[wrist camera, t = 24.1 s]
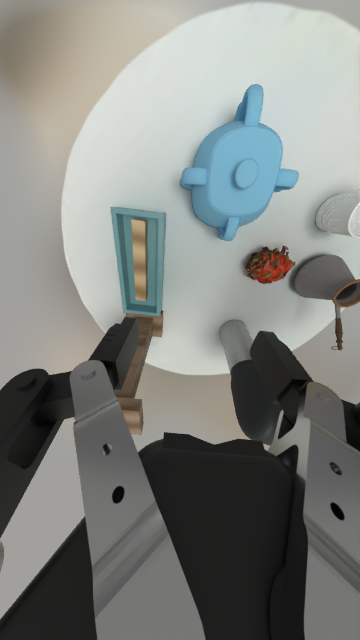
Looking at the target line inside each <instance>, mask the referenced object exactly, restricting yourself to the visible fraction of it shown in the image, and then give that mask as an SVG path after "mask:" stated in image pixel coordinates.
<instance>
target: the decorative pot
mask: <svg viewBox="0 0 360 640" xmlns="http://www.w3.org/2000/svg"><path fill="white" fill-rule="evenodd" d="M262 105H263V88H262V86H261V85H258V84H254V85H251V86H250V87H249V88H248V89H247V90H246V92H245V95H244V97H243V100H242V102H241V103H240V104H239V106H238V108H237V112H236V117H235V122H231V123H228V124H225V125H223V126H221V127H219V128H217V129H215V130H214V131H212V132H211V133H210V134H209V135H208V136H207V137H206V138H205V139H204V140H203V142H202V143H201V145H200V147H199V149H198V151H197V154H196V157H195V162H194V167H193V168H185V169H184V170H183V173H182V177H181V180H180V184H181V187H183V188H186V189H191V191H192V204H193V209H194V212H195V214H196V215H197V217H198V218H199V219H200V220H201V221H203V222H204V223H206V224H208V225H210V226H213V227H217V228H219V232H218V238H219V239H221V240H225V241H230V240H232V239H233V238H234V237H235V235H236V232H237V229H238V227H239V226H242V225H245V224H248V223H250V222H252V221H253V220H255V219H257V218H258V217H259V216H260V215H261V214H262V213H263V212H264V210H265V209H266V207H267V206H268V204H269V201H270V199H271V197H272V194H273V192H279V191H281V190H287V189H291V188H293V187H294V186H295V184H296V182H297V180H298V176H299V173H298V171H295V170H290V169H280V166H281V160H282V153H283V149H282V142H281V140H280V137H279V136H278V134H277V133H276V132H275V131H274V130H272V129H271V128H269V127H268V126H266V125H264V124H262V123H259V121H260V116H261V111H262Z"/></svg>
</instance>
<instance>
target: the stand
mask: <svg viewBox="0 0 360 640" xmlns="http://www.w3.org/2000/svg"><path fill="white" fill-rule="evenodd" d="M126 317H134V318H138V323H139V343H138V346H137V349H136V352H135V354H134V357H133V360H132V362H131V365H130V368H129V371H128V373H127V376H126V379H125V381H124V384H123V387H122V389H121V390H116V389H115V391H114V393H115V396H116V398H117V400H118V402H119V404H120V406H121V409H122V412H123V414H124V417H125V420H126V422H127V425H128V428H129V431H130V433H131V434H139V435H141V433H142V428H143V410H142V399H134V398H135V394H136V391H137V387H138V383H139V380H140V376H141V373H142V370H143V366H144V363H145V359H146V356H147V352H148V349H149V345H150V342H151V338H152V336H156V337H162V328H163V311H161V314H160V316H152V315H143V314H133V313H126ZM74 419H75V420H76V417H74Z"/></svg>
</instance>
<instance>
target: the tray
mask: <svg viewBox="0 0 360 640" xmlns="http://www.w3.org/2000/svg"><path fill="white" fill-rule="evenodd" d="M111 215H112V223H113V231H114V239H115V247H116V255H117V263H118V271H119V279H120V287H121V295H122V303H123V311H124V313H133V314H143V315H152V316H160V314H161V310H162V296H163V274H164V251H165V228H166V213H159V212H151V211H143V210H135V209H127V208H119V207H111ZM131 219H141V220H148V298H147V300H146V301H141V300H136V296H135V278H134V261H133V243H132V226H131Z"/></svg>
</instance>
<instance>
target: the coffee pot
mask: <svg viewBox="0 0 360 640" xmlns="http://www.w3.org/2000/svg"><path fill="white" fill-rule="evenodd" d="M295 289H296V292H297V293H298V294H299V295H301V296H303V297H306V298H316V299H326V300H333V302H334V304H335V312H336V326H335V327H336V329H335V333H336V337H337V341H336V342H337V343H338V345H337V346H334V347H338V349H333V350H342V349H343V348H342V344H341V343H342V342H343V341H342V334H343V332H342V324H341V318H340V307H349V306H352V305H355V304H357V303H358V302H360V279H359V280H355V278H354V276H353V275H352V273H351V272H350V270H349V268H348V267H347V265H346V264H345V262H344V261H343V259H342V258H340V257H338V256H335V255H326V256H321V257H318V258H315V259H313V260H311V261H310V262H308V263H307V264H305V265H304V266H303V267H302V268H301V269H300V271H299V272H298V274H297V276H296V278H295ZM332 348H333V347H331V349H332Z"/></svg>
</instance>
